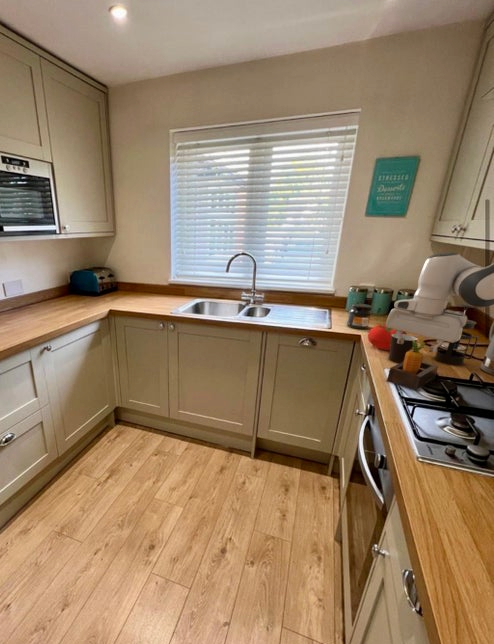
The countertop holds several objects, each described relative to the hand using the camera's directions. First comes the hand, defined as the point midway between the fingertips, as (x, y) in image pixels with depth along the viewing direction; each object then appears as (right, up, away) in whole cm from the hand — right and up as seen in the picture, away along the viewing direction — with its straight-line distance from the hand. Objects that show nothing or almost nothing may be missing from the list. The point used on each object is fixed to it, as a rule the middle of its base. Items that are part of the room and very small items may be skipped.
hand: (415, 347), depth 108 cm
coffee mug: (+11, -5, +24) cm, 27 cm away
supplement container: (+18, +12, +70) cm, 73 cm away
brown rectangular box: (+3, -11, +6) cm, 13 cm away
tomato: (+13, 0, +38) cm, 41 cm away
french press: (+31, -5, +25) cm, 40 cm away
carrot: (0, -12, +4) cm, 13 cm away
